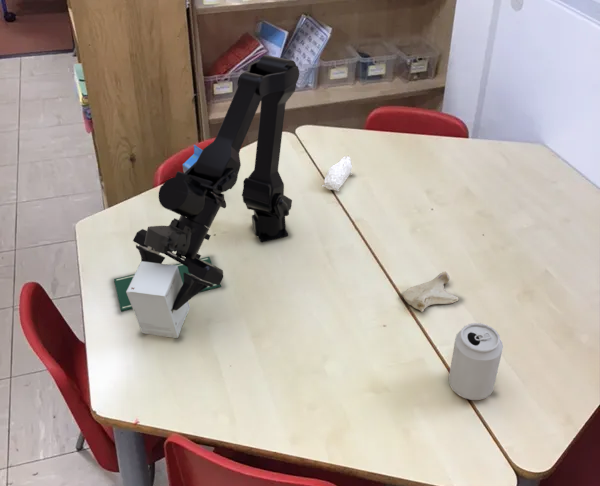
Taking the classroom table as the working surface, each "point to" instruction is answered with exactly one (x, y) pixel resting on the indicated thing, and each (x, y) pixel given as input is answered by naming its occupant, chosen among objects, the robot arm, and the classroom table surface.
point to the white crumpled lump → (338, 174)
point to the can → (475, 361)
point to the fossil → (430, 293)
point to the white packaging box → (157, 299)
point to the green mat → (125, 281)
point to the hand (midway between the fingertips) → (157, 299)
